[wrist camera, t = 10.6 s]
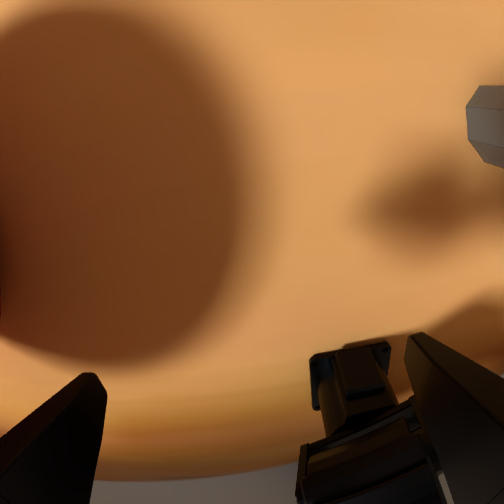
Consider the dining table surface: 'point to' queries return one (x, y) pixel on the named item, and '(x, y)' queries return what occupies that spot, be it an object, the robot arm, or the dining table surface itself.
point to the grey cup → (487, 123)
